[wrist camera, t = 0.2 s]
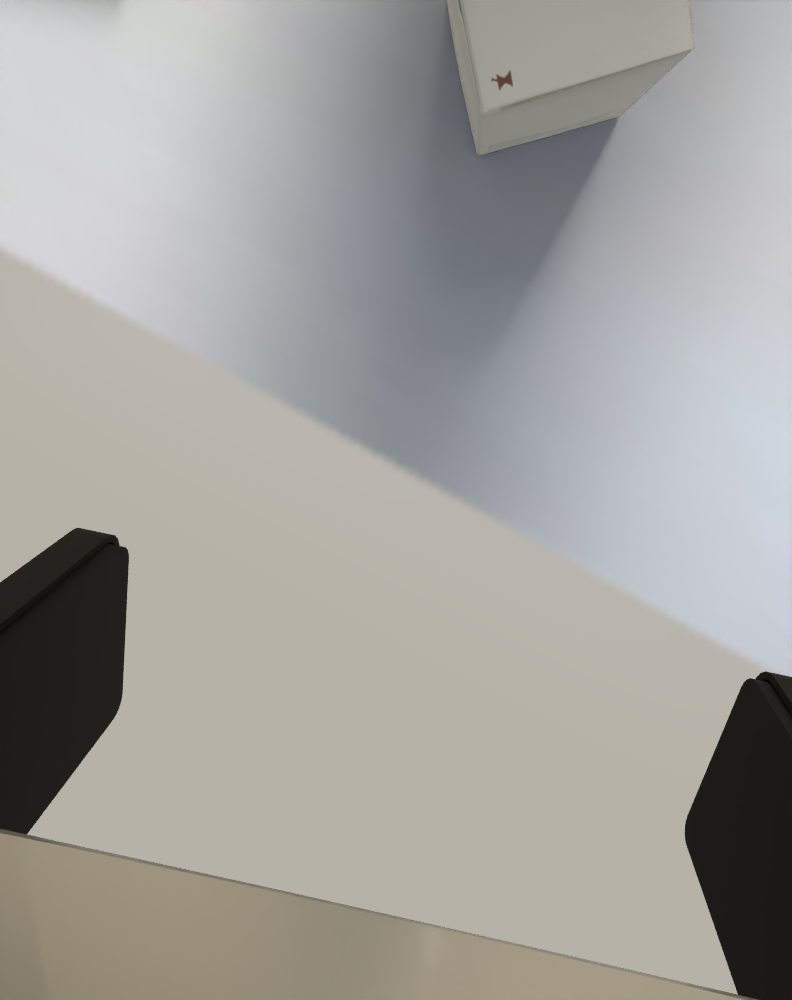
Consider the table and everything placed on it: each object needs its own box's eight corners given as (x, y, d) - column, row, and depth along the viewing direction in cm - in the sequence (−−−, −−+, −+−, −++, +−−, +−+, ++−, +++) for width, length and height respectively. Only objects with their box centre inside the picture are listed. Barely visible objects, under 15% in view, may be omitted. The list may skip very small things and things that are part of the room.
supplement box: (624, 118, 35) (700, 58, 23) (474, 159, 36) (473, 121, 25) (603, -59, 33) (674, -225, 21) (443, -8, 34) (426, -138, 22)
